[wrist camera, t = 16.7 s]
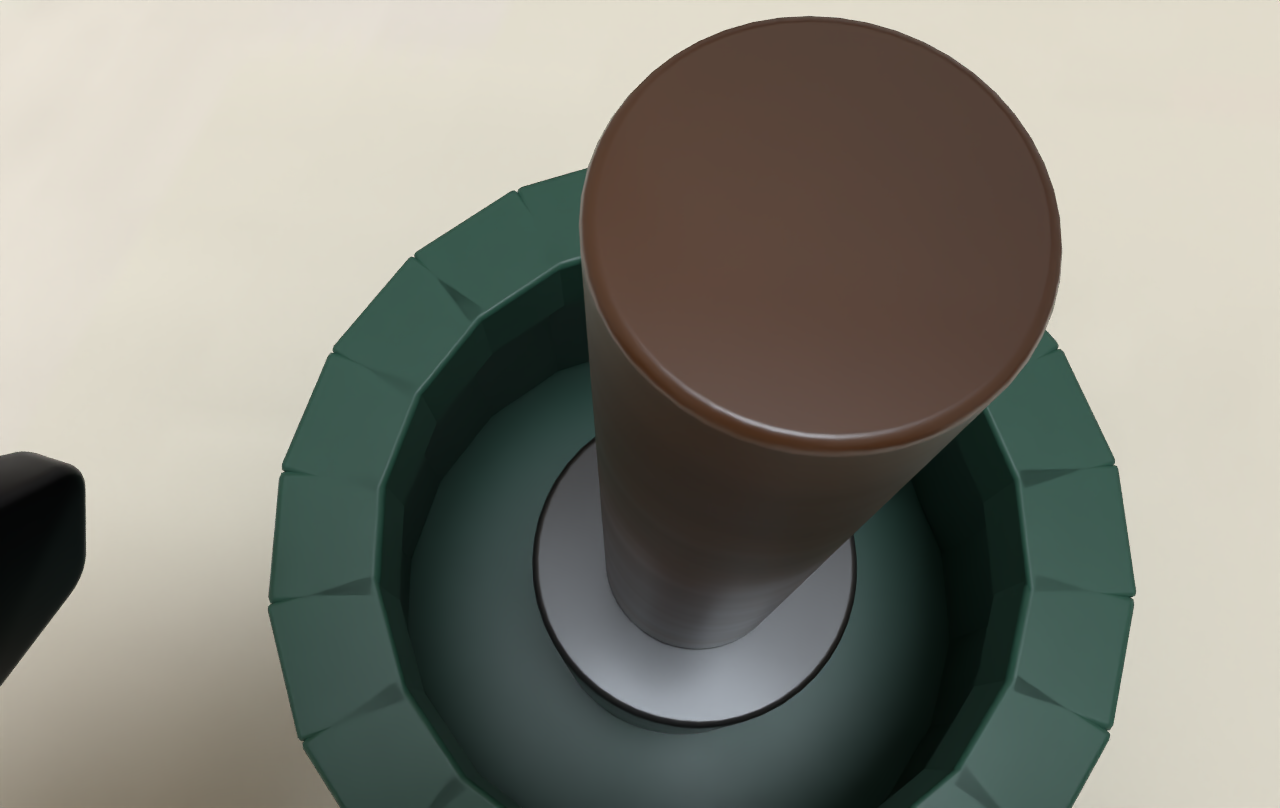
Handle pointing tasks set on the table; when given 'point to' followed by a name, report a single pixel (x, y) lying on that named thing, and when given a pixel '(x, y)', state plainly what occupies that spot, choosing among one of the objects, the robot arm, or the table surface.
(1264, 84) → the table surface
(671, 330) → the brown cylinder with base
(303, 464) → the round container
